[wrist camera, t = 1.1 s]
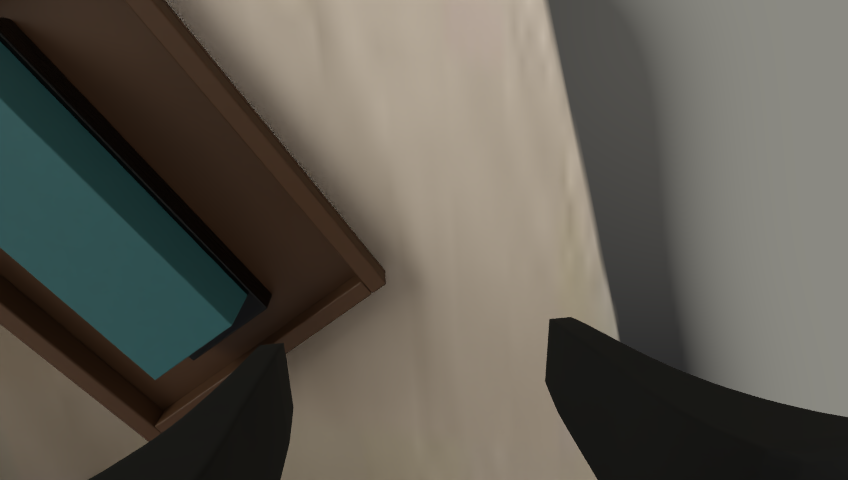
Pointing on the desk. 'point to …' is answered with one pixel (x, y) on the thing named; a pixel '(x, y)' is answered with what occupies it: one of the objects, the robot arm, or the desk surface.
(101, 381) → the tray
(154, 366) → the teal long block
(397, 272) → the desk surface
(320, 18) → the desk surface
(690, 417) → the robot arm
